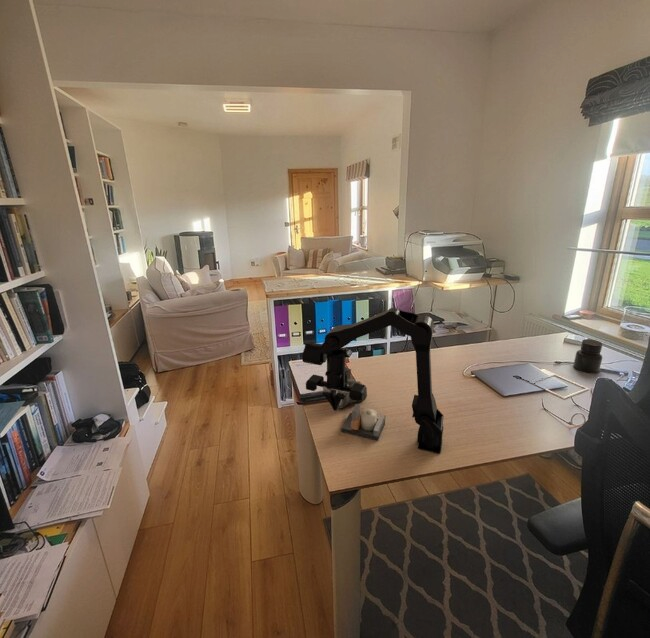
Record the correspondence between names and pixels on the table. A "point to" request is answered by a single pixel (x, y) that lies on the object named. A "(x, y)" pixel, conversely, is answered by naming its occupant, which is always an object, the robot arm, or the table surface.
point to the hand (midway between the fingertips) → (335, 410)
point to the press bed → (362, 432)
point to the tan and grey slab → (356, 417)
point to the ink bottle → (589, 356)
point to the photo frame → (565, 380)
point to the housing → (368, 419)
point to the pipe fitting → (347, 398)
